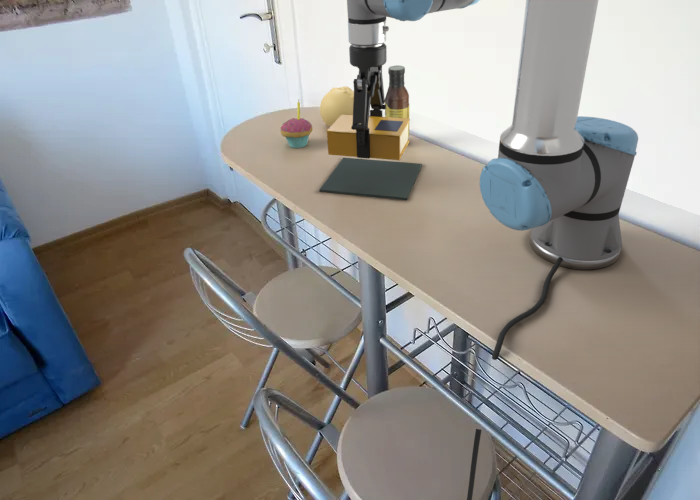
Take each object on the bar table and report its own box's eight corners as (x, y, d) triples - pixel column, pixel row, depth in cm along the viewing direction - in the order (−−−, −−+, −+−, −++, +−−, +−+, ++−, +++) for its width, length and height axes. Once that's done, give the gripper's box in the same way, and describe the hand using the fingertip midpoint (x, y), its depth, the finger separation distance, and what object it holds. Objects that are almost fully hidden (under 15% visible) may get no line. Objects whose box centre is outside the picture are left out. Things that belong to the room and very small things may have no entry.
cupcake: (296, 137, 146) (292, 94, 140) (320, 142, 142) (316, 98, 135) (276, 147, 141) (270, 103, 134) (300, 153, 136) (295, 108, 130)
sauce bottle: (393, 137, 143) (393, 62, 132) (413, 141, 140) (415, 64, 129) (380, 145, 138) (379, 68, 128) (401, 149, 135) (401, 71, 124)
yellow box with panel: (328, 154, 115) (326, 130, 112) (342, 137, 123) (341, 114, 120) (399, 160, 111) (399, 135, 108) (409, 141, 119) (409, 117, 116)
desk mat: (406, 200, 112) (406, 197, 112) (319, 191, 118) (319, 189, 117) (421, 165, 126) (422, 163, 126) (343, 159, 132) (343, 157, 131)
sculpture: (370, 123, 153) (369, 86, 147) (339, 135, 146) (337, 96, 140) (343, 115, 160) (341, 79, 154) (313, 125, 153) (310, 88, 147)
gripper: (370, 58, 94) (373, 170, 107) (398, 31, 113) (398, 129, 125) (331, 57, 96) (338, 167, 109) (365, 31, 115) (367, 127, 127)
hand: (370, 147), depth 117 cm, fingers closed on yellow box with panel, 10 cm apart
